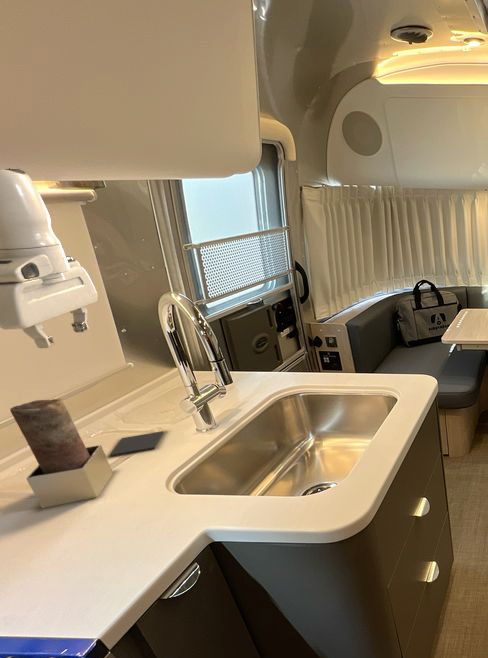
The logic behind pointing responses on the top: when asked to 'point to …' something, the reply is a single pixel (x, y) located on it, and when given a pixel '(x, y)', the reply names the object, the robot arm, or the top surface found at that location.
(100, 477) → the beige open box
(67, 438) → the candle
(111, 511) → the top surface
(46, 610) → the top surface
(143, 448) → the mat
